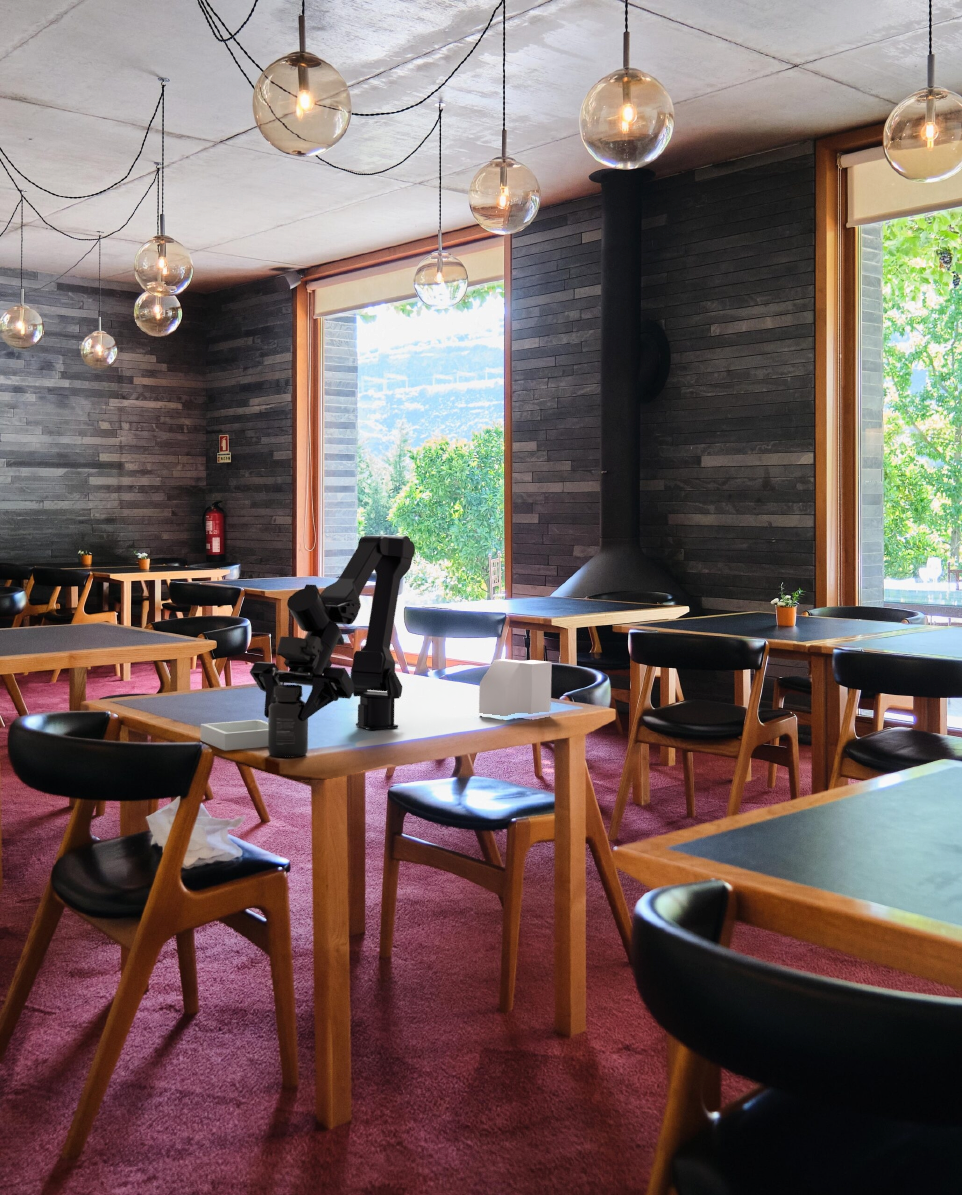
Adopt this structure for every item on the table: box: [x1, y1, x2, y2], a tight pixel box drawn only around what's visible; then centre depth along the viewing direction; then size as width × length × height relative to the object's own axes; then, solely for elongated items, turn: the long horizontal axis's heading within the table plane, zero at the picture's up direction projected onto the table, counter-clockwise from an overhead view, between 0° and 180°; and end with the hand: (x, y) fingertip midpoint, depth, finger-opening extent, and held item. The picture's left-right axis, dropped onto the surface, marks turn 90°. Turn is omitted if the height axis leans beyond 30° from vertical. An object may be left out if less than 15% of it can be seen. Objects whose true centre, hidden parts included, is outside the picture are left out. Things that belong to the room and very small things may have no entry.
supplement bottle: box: [267, 684, 309, 758], centre depth 197 cm, size 7×7×12 cm
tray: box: [200, 719, 268, 752], centre depth 209 cm, size 12×12×3 cm
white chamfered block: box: [478, 658, 553, 716], centre depth 245 cm, size 11×11×12 cm
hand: (283, 717), depth 196 cm, fingers closed on supplement bottle, 7 cm apart
